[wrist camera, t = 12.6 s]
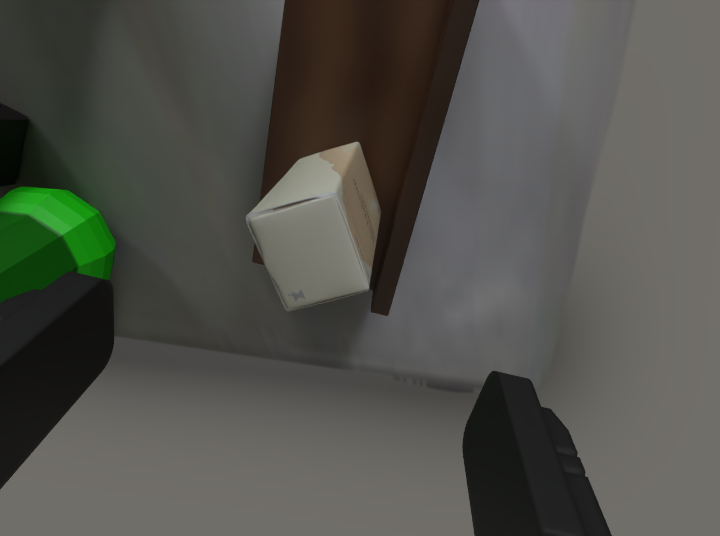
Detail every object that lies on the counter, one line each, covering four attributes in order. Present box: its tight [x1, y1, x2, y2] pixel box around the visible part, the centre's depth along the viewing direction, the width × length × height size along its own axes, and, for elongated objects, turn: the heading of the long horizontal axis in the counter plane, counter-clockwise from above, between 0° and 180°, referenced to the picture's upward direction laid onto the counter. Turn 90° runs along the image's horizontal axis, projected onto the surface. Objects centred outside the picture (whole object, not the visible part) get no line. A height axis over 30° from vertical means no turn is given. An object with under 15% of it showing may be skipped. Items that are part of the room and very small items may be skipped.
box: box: [246, 142, 381, 311], centre depth 26 cm, size 5×4×11 cm
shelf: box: [253, 0, 479, 316], centre depth 31 cm, size 10×22×10 cm, turn 168°
